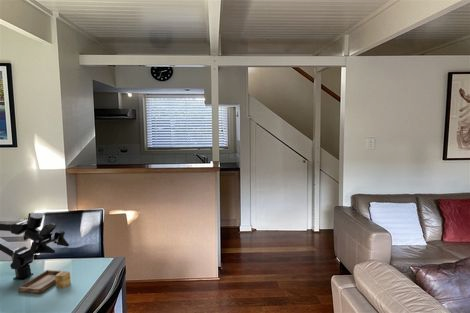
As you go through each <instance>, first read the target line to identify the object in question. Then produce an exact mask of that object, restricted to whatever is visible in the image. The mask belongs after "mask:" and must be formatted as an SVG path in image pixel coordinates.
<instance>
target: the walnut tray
mask: <svg viewBox="0 0 470 313" xmlns="http://www.w3.org/2000/svg"><path fill="white" fill-rule="evenodd" d="M61 271H62V270H52V269H47V270H45V271H43V272H41V273H40V274H38V275H36V276H35V277H33V278H31V279H30V280H28V281H27V282H25V283H23V284H21V285H20V286H18V287H17V290H18V293H21V294H32V295H33V294H34V295H35V294H36V295H41V294H43V293H45V292H46V291H48V290H49V289H50V288H52V287H53V286H56V280H55V275H57V274H58V273H60V272H61ZM64 271H65V272H68V271H67V270H64Z"/></svg>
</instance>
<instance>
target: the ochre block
mask: <svg viewBox="0 0 470 313" xmlns="http://www.w3.org/2000/svg"><path fill="white" fill-rule="evenodd" d="M60 271H61V272H60V273H58V274H57V275H55V280H56V284H55V287H56V288H59V289H60V288H61V289H65V288H66V287H68V286H69V285H71V283H72V282H71V272H70V271H67V272H65V271H66V270H60Z"/></svg>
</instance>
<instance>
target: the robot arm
mask: <svg viewBox="0 0 470 313" xmlns="http://www.w3.org/2000/svg"><path fill="white" fill-rule="evenodd" d="M43 217H44V215H43V214H42V213H40V212H33V211H32V212H29V213H28V216H27V219H26V220H25V219H23V220H19V221H6V220H5V221H3V220H0V231H4V232H10V233H11V234H13V235H16V236H18V235H21V234H23V235H22V236H23V239H22V240H24V241H28V240H31V242H32V243H31V244H30V245H31V246H30V248H28V247H27V246H22V247H18V246H16V245H14V244H13V243H10V242H8V241H7V240H5V239H3V238H2V237H0V251H1V252H3V254H6V255H7V256H9V257H11V263H10V265H9V266H10V268H11V270H14V272H15V273H14V274H15V277H13V280H17V281H18V280H19V281H24V280H26V279H27V278H30V277H31V276H33V275H34V272H33V273H32V269H31V266H30V264H33V261H34V256H35V255H36V254H37V255H39V254H55V253H56V250H55V249H54V248H52V247H50V246H48V245H50V244H51V243H53V244H56V245H57V246H61V247H69V246H70V244H69V242H68V241H67V240H66V238H65V237H64V236H65V233H66V232H65V230H58V231H56V232H55V233H54V235H53V232H54V230H55V229H56V227H57V225H56V223H53V222H50V223H47V224H45V225H44V226H43V227H42V228H41V229H39V228H40V227H41V226H42V222H43ZM52 236H53V237H52Z"/></svg>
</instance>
